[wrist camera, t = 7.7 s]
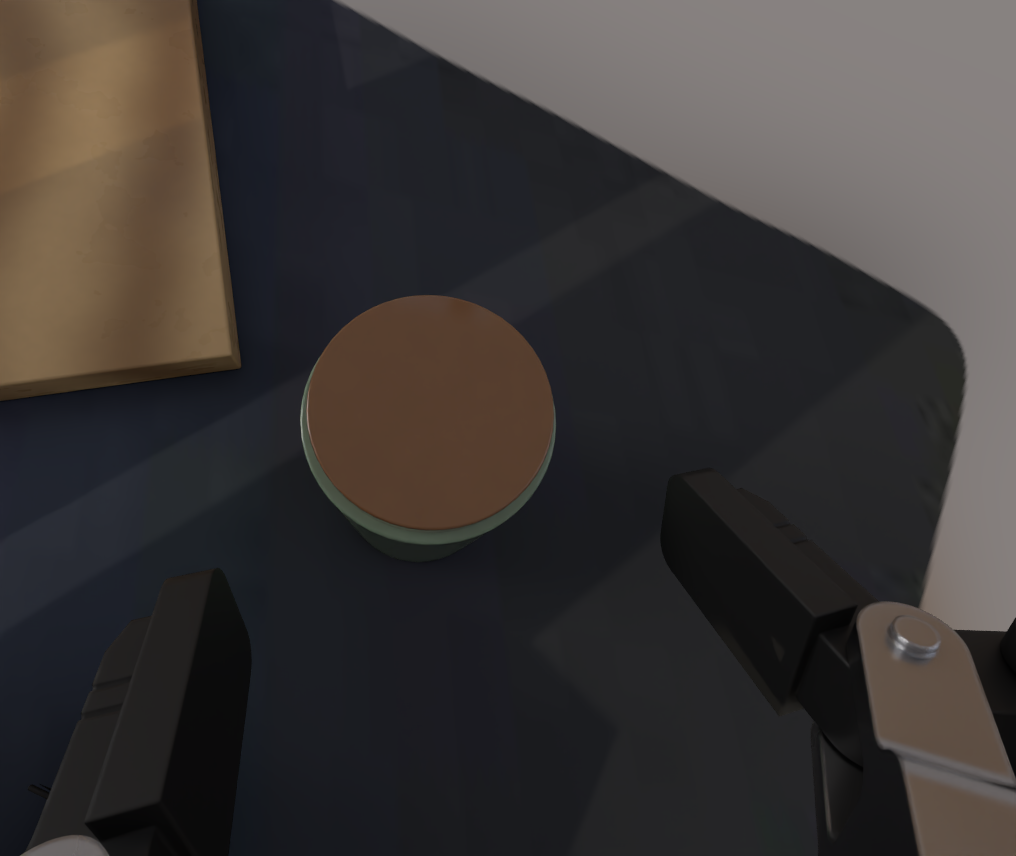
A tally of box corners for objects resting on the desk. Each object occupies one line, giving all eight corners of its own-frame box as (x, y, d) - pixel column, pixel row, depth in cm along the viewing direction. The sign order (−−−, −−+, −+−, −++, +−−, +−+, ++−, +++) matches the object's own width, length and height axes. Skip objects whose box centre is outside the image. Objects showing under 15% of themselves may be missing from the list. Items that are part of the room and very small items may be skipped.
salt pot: (358, 577, 17) (314, 571, 9) (335, 430, 19) (276, 300, 10) (506, 544, 19) (593, 510, 10) (476, 407, 20) (532, 271, 11)
